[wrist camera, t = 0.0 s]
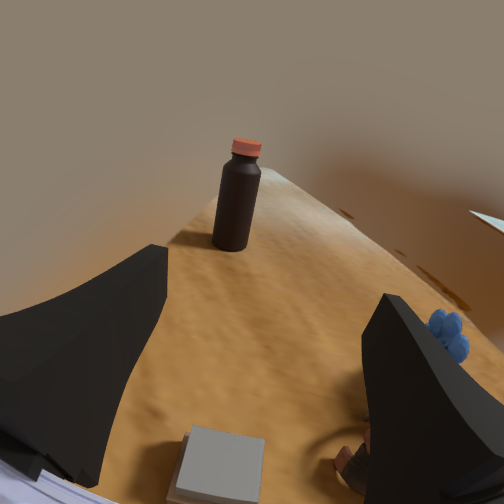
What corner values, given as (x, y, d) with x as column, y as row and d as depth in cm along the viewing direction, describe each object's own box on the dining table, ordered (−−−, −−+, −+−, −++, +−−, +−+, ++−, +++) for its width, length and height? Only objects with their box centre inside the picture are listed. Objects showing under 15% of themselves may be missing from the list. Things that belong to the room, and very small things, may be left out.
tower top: (253, 508, 18) (258, 502, 18) (176, 494, 18) (175, 486, 18) (259, 449, 24) (264, 439, 23) (191, 435, 24) (192, 425, 23)
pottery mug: (314, 440, 28) (368, 381, 27) (368, 452, 31) (414, 402, 30) (363, 530, 16) (440, 464, 16) (416, 521, 19) (476, 465, 19)
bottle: (253, 249, 62) (275, 146, 53) (224, 254, 58) (243, 144, 49) (233, 234, 66) (251, 138, 57) (205, 238, 62) (220, 136, 53)
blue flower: (376, 360, 39) (414, 287, 34) (415, 362, 39) (455, 295, 34) (397, 430, 29) (455, 356, 23) (441, 426, 29) (498, 357, 24)
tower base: (251, 522, 19) (256, 516, 18) (167, 506, 19) (166, 499, 18) (258, 458, 25) (264, 447, 24) (184, 443, 25) (185, 431, 24)
